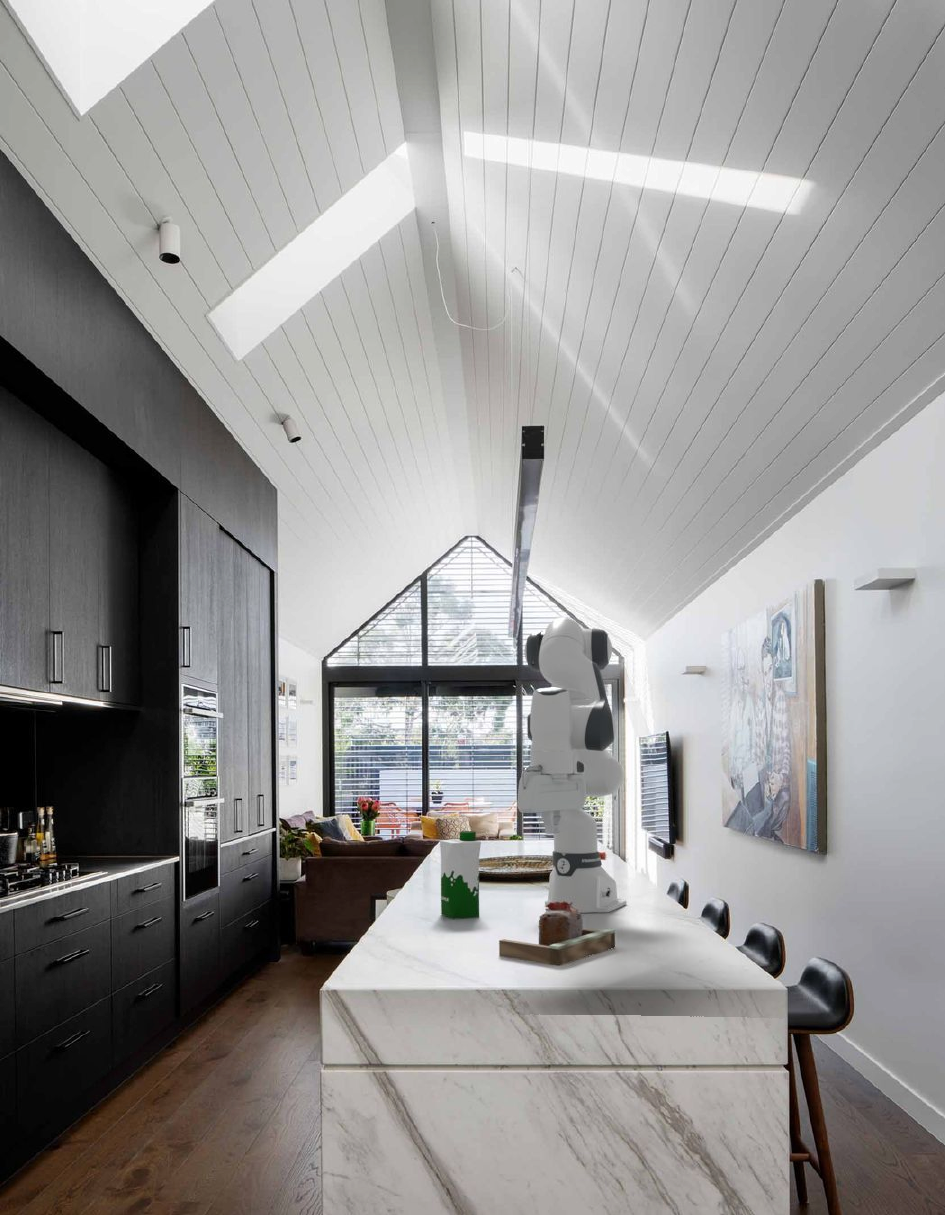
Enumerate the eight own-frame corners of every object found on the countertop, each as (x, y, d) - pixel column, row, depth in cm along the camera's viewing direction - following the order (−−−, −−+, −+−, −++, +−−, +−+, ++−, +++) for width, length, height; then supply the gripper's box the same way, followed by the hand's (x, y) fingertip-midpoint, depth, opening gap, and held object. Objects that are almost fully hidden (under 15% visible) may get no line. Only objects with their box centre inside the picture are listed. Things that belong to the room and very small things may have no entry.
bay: (558, 939, 211) (558, 922, 212) (615, 947, 202) (614, 930, 203) (499, 956, 195) (499, 937, 195) (558, 965, 186) (558, 946, 187)
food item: (546, 943, 207) (546, 895, 209) (584, 945, 206) (583, 896, 207) (536, 957, 194) (535, 905, 195) (576, 959, 192) (575, 907, 194)
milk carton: (484, 917, 238) (484, 832, 241) (450, 920, 234) (450, 834, 237) (469, 911, 246) (469, 830, 249) (435, 914, 242) (436, 831, 245)
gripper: (535, 766, 194) (536, 838, 192) (590, 764, 210) (591, 831, 208) (509, 766, 198) (510, 836, 196) (565, 764, 214) (566, 829, 212)
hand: (552, 833), depth 202 cm, fingers closed
